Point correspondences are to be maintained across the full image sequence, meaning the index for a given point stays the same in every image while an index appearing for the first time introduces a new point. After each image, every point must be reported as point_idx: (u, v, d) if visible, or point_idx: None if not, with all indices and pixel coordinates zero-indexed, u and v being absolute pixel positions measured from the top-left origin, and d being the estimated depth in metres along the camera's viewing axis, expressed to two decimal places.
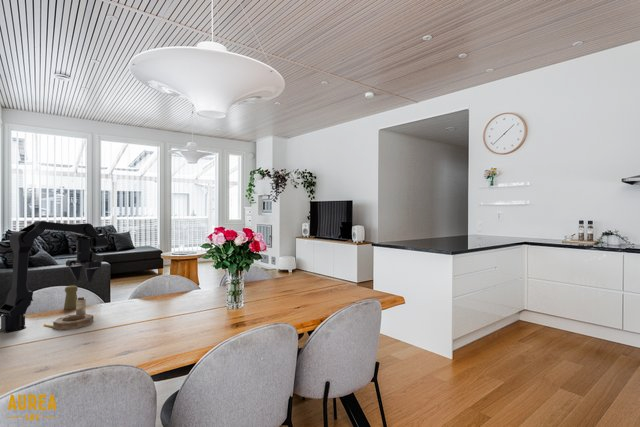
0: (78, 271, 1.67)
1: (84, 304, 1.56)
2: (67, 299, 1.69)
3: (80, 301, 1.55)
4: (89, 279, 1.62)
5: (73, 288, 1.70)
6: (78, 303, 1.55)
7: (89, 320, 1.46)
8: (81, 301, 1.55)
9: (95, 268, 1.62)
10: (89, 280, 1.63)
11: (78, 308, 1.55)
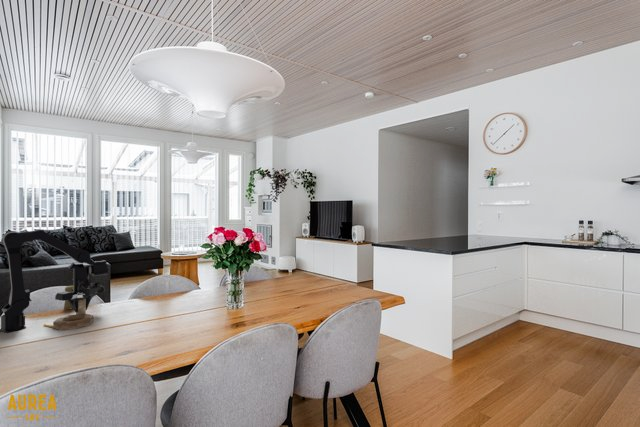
0: (86, 300, 1.58)
1: (84, 304, 1.56)
2: None
3: (80, 301, 1.55)
4: (74, 309, 1.54)
5: None
6: (78, 303, 1.55)
7: (89, 320, 1.46)
8: (81, 301, 1.55)
9: (69, 299, 1.51)
10: (75, 310, 1.54)
11: (78, 308, 1.55)
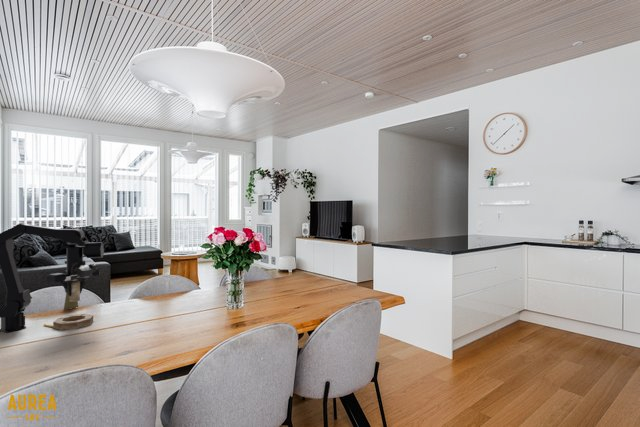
0: (80, 283, 1.48)
1: (78, 287, 1.46)
2: (67, 299, 1.69)
3: (74, 284, 1.45)
4: (67, 292, 1.44)
5: None
6: (72, 286, 1.45)
7: (89, 320, 1.46)
8: (75, 283, 1.45)
9: (62, 281, 1.41)
10: (68, 293, 1.44)
11: (72, 292, 1.45)
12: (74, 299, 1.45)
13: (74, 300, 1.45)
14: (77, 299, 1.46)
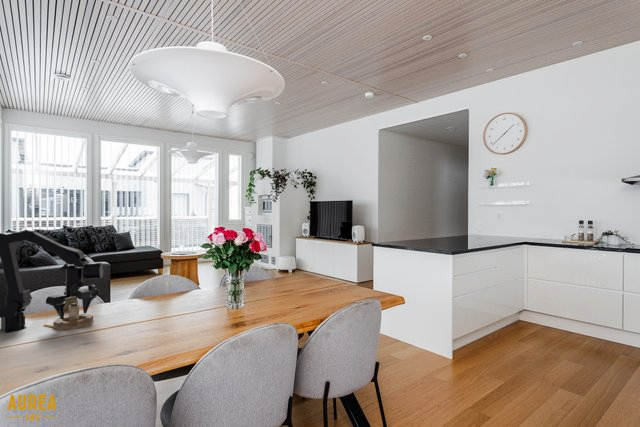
0: (86, 303, 1.50)
1: (77, 311, 1.46)
2: None
3: (73, 307, 1.44)
4: (60, 315, 1.41)
5: None
6: (71, 310, 1.44)
7: (89, 320, 1.46)
8: (74, 307, 1.45)
9: (54, 305, 1.38)
10: (60, 317, 1.41)
11: (71, 315, 1.44)
12: None
13: None
14: None
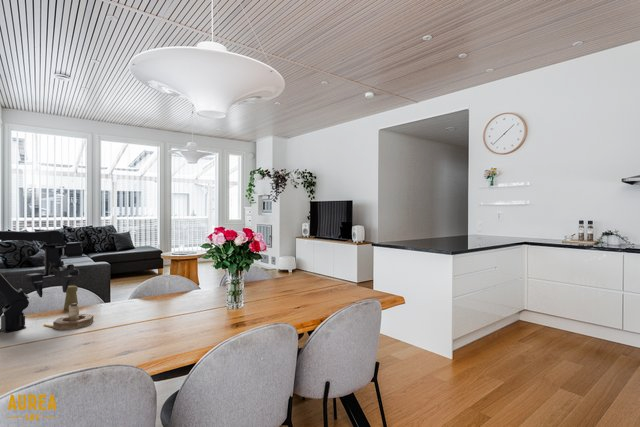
0: (65, 282, 1.53)
1: (77, 311, 1.46)
2: (67, 299, 1.69)
3: (73, 307, 1.44)
4: (38, 293, 1.44)
5: (73, 288, 1.70)
6: (71, 310, 1.44)
7: (89, 320, 1.46)
8: (74, 307, 1.45)
9: (32, 282, 1.41)
10: (39, 295, 1.44)
11: (71, 315, 1.44)
12: None
13: None
14: None
